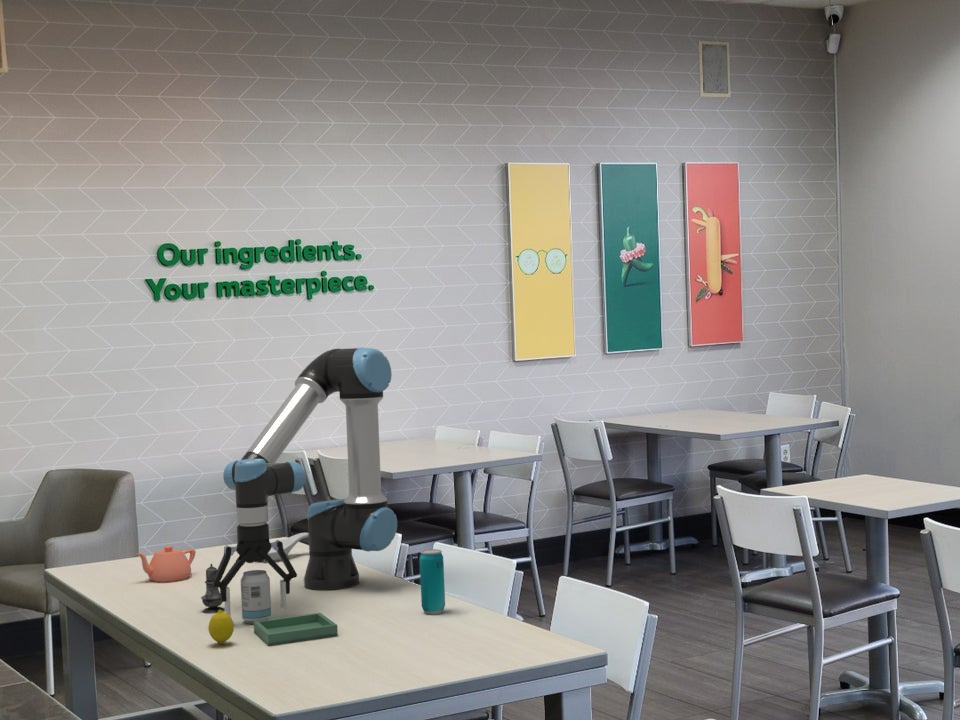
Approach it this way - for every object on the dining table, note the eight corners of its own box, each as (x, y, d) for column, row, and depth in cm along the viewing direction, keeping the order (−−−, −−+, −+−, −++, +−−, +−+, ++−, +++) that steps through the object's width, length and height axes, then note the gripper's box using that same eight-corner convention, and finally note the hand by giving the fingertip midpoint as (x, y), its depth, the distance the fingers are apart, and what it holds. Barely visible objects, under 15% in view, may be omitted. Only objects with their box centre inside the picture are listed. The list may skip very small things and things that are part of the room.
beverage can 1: (276, 618, 288) (274, 569, 288) (262, 625, 282) (260, 575, 282) (251, 617, 291) (249, 569, 290) (237, 624, 284) (234, 574, 284)
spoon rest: (259, 566, 358) (258, 542, 358) (246, 560, 368) (245, 537, 368) (332, 555, 370) (331, 533, 370) (317, 550, 380) (316, 528, 380)
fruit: (222, 648, 262) (220, 613, 262) (204, 646, 265) (202, 610, 265) (239, 642, 267) (238, 607, 267) (221, 640, 270) (220, 605, 270)
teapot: (205, 577, 343) (203, 544, 343) (145, 587, 332) (144, 553, 332) (187, 571, 353) (185, 539, 353) (128, 581, 342) (127, 548, 341)
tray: (320, 622, 282) (320, 612, 282) (337, 635, 270) (337, 625, 270) (254, 632, 276) (253, 621, 276) (268, 645, 263) (267, 634, 263)
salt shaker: (219, 613, 297) (217, 565, 296) (197, 613, 298) (195, 565, 297) (229, 607, 302) (226, 561, 302) (207, 607, 304) (205, 561, 303)
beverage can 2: (449, 610, 290) (447, 549, 290) (438, 615, 285) (436, 553, 284) (428, 608, 292) (426, 548, 292) (417, 614, 287) (415, 552, 287)
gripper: (299, 516, 294) (302, 601, 295) (197, 526, 284) (201, 614, 285) (307, 520, 287) (310, 607, 288) (203, 530, 277) (207, 621, 278)
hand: (256, 611), depth 286 cm, fingers open, 13 cm apart
